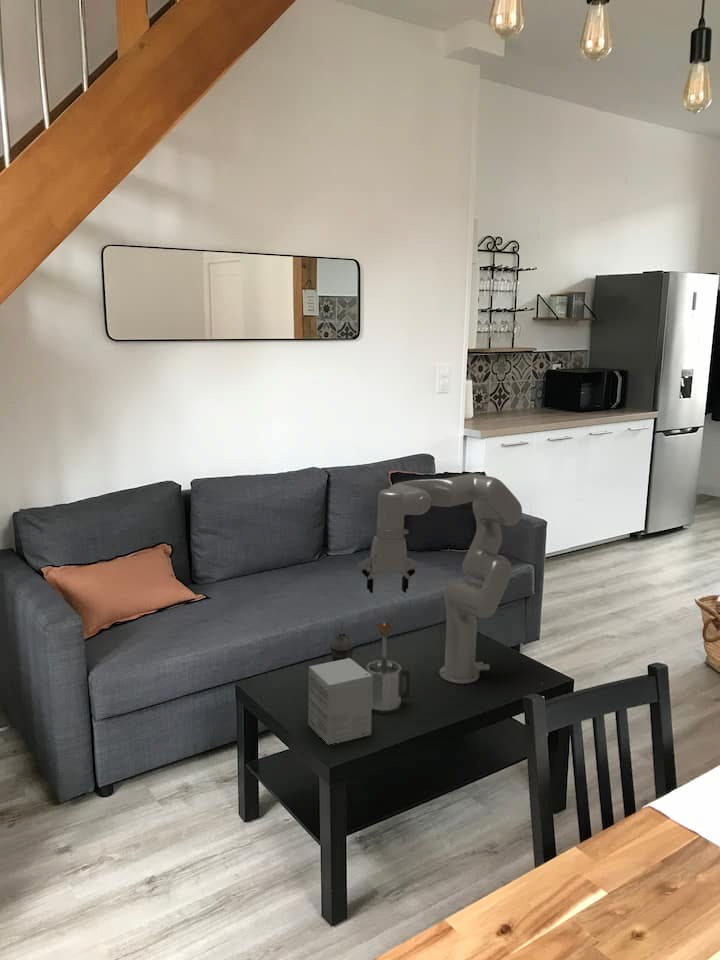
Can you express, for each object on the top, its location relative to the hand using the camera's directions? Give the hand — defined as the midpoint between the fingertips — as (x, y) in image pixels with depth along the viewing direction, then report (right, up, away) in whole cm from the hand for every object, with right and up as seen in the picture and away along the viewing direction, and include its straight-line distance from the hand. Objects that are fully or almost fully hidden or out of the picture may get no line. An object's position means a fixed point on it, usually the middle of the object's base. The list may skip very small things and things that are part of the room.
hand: (387, 591), depth 222 cm
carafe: (0, -34, +6) cm, 35 cm away
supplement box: (-14, -37, -8) cm, 40 cm away
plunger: (-1, -25, +4) cm, 25 cm away
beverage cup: (-14, -31, +21) cm, 40 cm away
